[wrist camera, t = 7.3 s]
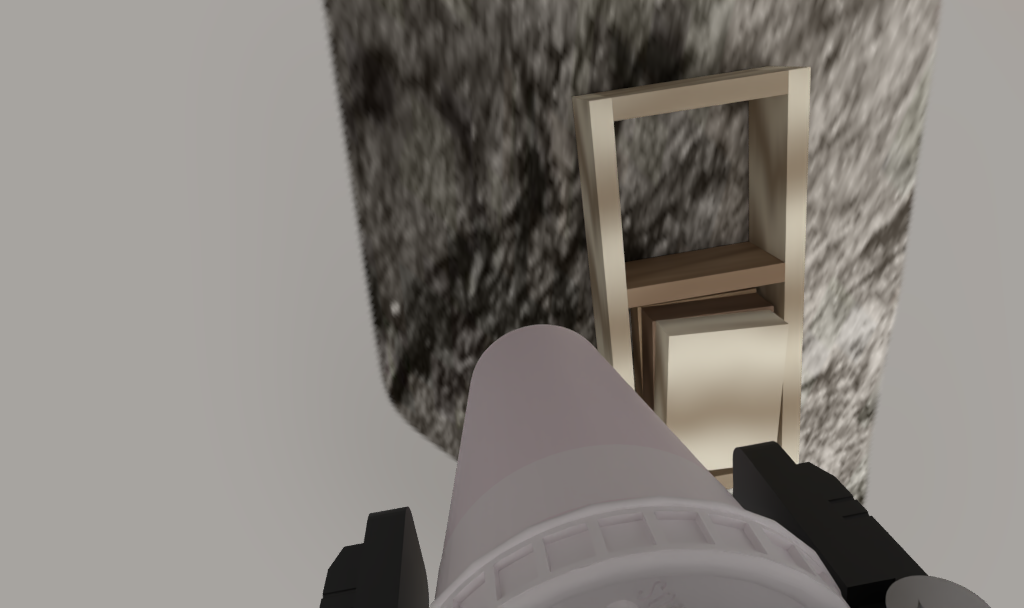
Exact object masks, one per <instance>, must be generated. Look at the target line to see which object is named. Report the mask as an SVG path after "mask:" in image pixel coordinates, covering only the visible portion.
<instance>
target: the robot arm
mask: <svg viewBox="0 0 1024 608" xmlns="http://www.w3.org/2000/svg"><path fill="white" fill-rule="evenodd" d="M733 497H734V498H735V500H736V501H737V502H738V503H739V504H740V505H741V506H742V507H743V509H744V510H747V511H750V512H753V513H755V514H758V515H761V516H764V517H766V518H769V519H772V520H774V521H776V522H777V523H779V524H780V525H781V526H783V527H784V528H785V529H787V530H788V531H789V532H791V533H792V534H793V535H794V536H796V537H797V538H798V539H800V540H801V541H802V542H804V543H805V544H806V545H808V546H809V547H810V548H812V549H813V550H814V551H815V552H816V553H817V555H818V556H819V558H820V559H821V561H822V562H823V564H824V565H825V567H826V569H827V570H828V572H829V573H830V575H831V576H832V578H833V579H834V581H835V582H836V584H837V586H838V587H839V589H840V590H841V595H842V597H843V599H844V600H845V601H846V603H847V604H848V605H849V607H850V608H991V607H990V606H989V605H988V604H987V603H986V602H985V601H984V600H983V599H981V598H980V597H979V596H978V595H976V594H975V593H973V592H972V591H970V590H968V589H966V588H965V587H963V586H961V585H959V584H956V583H954V582H951V581H948V580H945V579H942V578H937V577H932V576H928V575H927V574H926V573H925V572H924V571H923V570H922V569H921V568H920V566H918V564H917V563H916V562H915V561H914V560H913V559H912V558H911V557H910V556H909V555H908V554H907V553H906V552H905V551H904V549H903V548H902V547H901V546H900V545H899V544H898V543H897V542H896V541H895V540H894V539H893V538H892V537H891V536H890V535H889V534H888V532H886V530H885V529H884V528H883V527H882V526H881V525H880V524H879V523H878V522H877V521H876V520H875V519H874V518H873V517H872V516H869V514H868V511H867V510H866V509H865V508H864V507H863V506H862V505H861V504H860V503H859V502H858V501H857V500H854V498H853V495H852V494H851V493H850V492H849V491H848V490H847V489H846V488H845V487H844V486H843V485H842V484H841V483H840V481H839V480H838V479H837V478H836V477H835V476H833V475H831V474H829V473H828V472H826V471H824V470H822V469H820V468H819V467H817V466H815V465H813V464H811V463H810V462H806V463H801V464H796V463H795V462H794V461H793V460H792V459H791V457H790V456H789V455H788V454H787V453H786V452H785V451H784V449H783V448H782V447H781V446H780V445H779V444H778V443H777V442H775V441H769V442H764V443H758V444H753V445H747V446H742V447H736V448H735V449H734V451H733ZM320 608H429V592H428V582H427V575H426V570H425V565H424V561H423V557H422V553H421V549H420V545H419V541H418V537H417V533H416V529H415V525H414V521H413V517H412V513H411V511H410V508H409V507H403V508H397V509H392V510H387V511H381V512H376V513H370V514H369V516H368V520H367V527H366V533H365V539H364V543H362V544H356V545H351V546H346V547H344V548H343V549H342V551H341V552H340V553H339V555H338V556H337V558H336V559H335V561H334V562H333V563H332V565H331V566H330V568H329V569H328V573H327V577H326V581H325V586H324V590H323V599H321V604H320Z"/></svg>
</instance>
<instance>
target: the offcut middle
mask: <svg viewBox="0 0 1024 608" xmlns="http://www.w3.org/2000/svg"><path fill="white" fill-rule="evenodd" d="M760 310H771V311H772V312H773V313H774V306H773V305H772V304H771V303H769V302H768V301H767V300H765V299H764V298H763V297H761V296H760V295H759V294H757V293H750V294H742V295H734V296H727V297H719V298H711V299H703V300H695V301H688V302H680V303H672V304H664V305H656V306H649V307H641V324H642V370H643V400H644V402H645V403H646V404H647V405H648V406H649V407H650V408H651V409H652V410H653V411H654V383H655V337H656V321H658V320H668V319H678V318H688V317H698V316H709V315H719V314H729V313H739V312H750V311H760Z"/></svg>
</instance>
